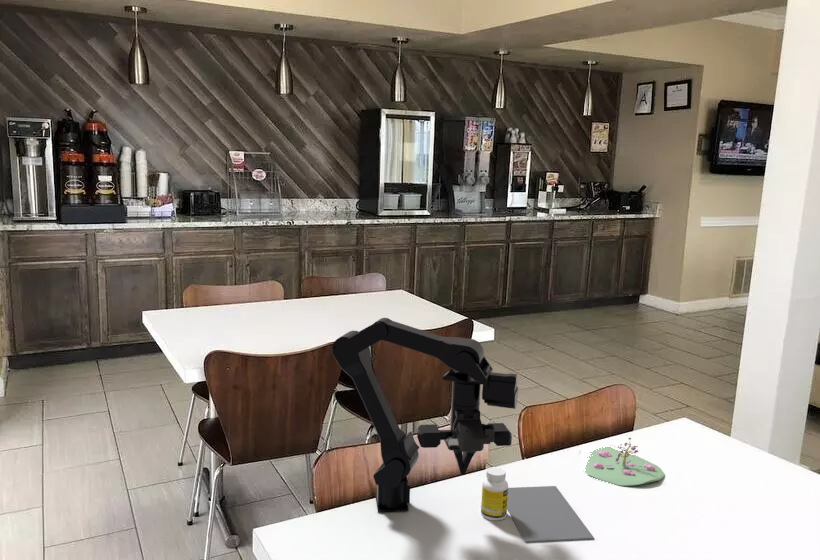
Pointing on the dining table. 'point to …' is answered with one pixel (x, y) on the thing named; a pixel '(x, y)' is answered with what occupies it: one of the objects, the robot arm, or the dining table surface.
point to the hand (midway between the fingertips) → (462, 474)
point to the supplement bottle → (494, 494)
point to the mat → (544, 515)
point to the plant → (622, 467)
